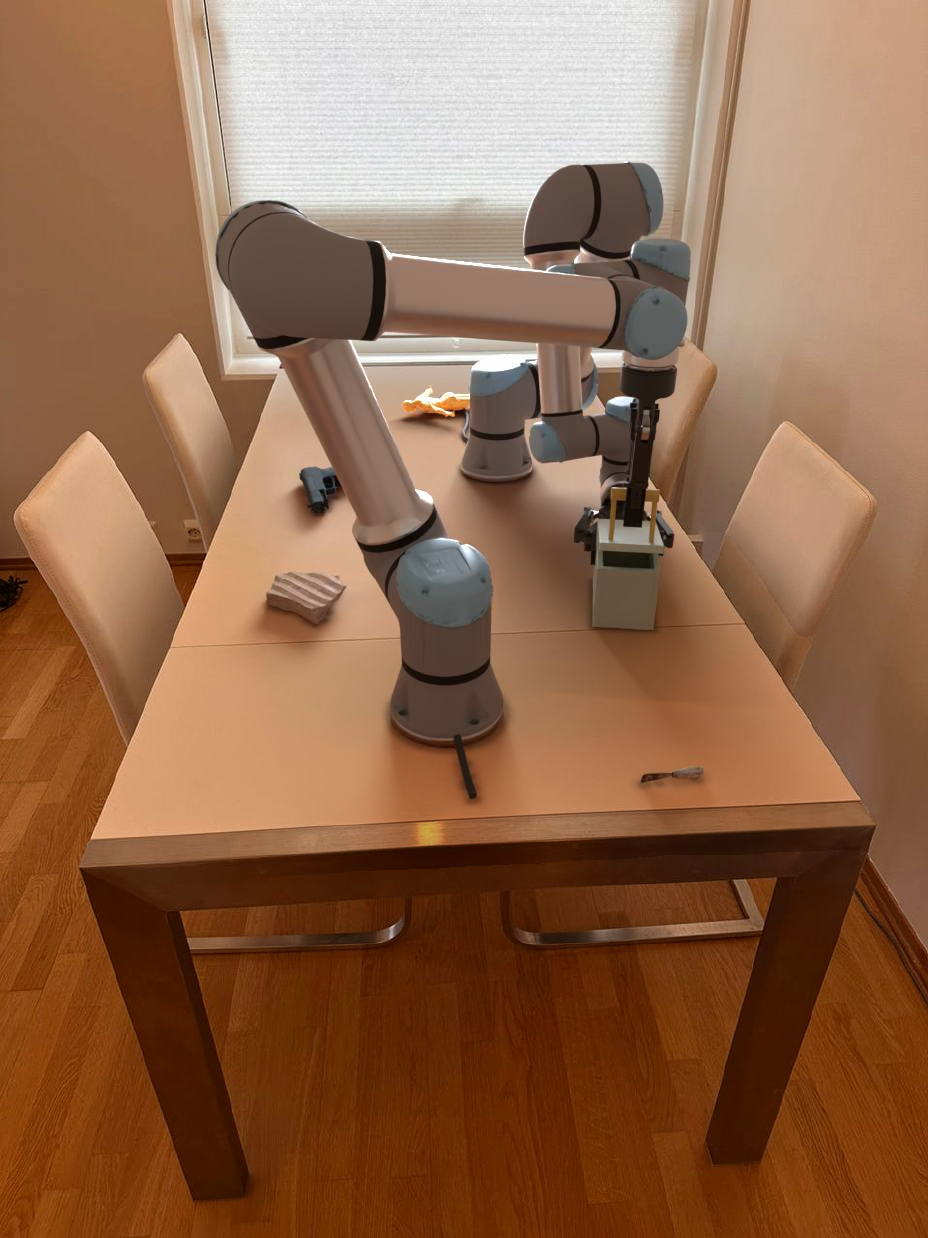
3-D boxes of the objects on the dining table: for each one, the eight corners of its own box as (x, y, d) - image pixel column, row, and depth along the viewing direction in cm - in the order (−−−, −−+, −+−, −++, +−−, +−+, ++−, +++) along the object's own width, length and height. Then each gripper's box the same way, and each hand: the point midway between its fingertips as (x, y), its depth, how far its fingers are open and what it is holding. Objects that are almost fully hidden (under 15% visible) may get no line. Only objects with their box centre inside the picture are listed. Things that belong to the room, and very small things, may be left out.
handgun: (369, 509, 176) (308, 516, 174) (354, 474, 190) (298, 480, 188) (368, 494, 174) (307, 501, 172) (353, 460, 189) (296, 466, 186)
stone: (356, 590, 149) (354, 577, 147) (319, 626, 139) (317, 612, 138) (289, 576, 153) (287, 563, 152) (249, 610, 144) (247, 596, 142)
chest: (653, 630, 138) (660, 572, 133) (592, 626, 139) (597, 568, 134) (648, 584, 150) (655, 528, 145) (592, 581, 151) (597, 525, 146)
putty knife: (703, 777, 109) (705, 767, 109) (642, 788, 108) (644, 777, 107) (700, 772, 110) (702, 762, 109) (639, 782, 109) (640, 771, 108)
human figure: (395, 413, 223) (394, 398, 221) (438, 390, 237) (438, 375, 235) (462, 429, 215) (462, 413, 213) (502, 404, 229) (503, 388, 227)
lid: (663, 553, 130) (669, 492, 127) (599, 550, 131) (603, 489, 128) (655, 528, 145) (660, 473, 142) (597, 525, 146) (601, 470, 143)
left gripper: (682, 380, 114) (660, 546, 126) (673, 349, 126) (655, 503, 138) (622, 378, 114) (607, 543, 127) (620, 348, 127) (606, 500, 139)
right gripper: (680, 523, 164) (691, 583, 145) (559, 517, 166) (555, 576, 147) (685, 485, 160) (697, 542, 141) (561, 479, 162) (557, 535, 143)
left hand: (632, 522), depth 133 cm, fingers closed on lid, 2 cm apart
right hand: (624, 559), depth 144 cm, fingers closed on chest, 9 cm apart
